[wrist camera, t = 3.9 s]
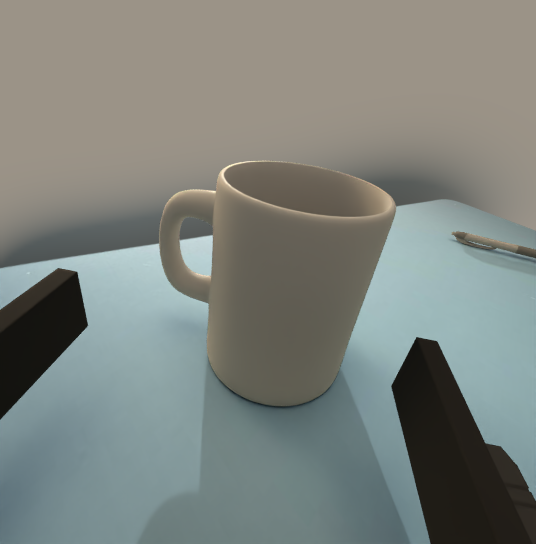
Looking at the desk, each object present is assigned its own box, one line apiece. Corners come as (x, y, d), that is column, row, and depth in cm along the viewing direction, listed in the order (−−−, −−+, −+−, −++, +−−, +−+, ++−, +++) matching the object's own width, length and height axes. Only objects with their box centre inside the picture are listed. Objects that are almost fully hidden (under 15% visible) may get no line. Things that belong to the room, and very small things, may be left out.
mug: (341, 327, 24) (392, 180, 18) (332, 430, 17) (410, 240, 11) (192, 286, 26) (195, 141, 20) (125, 362, 18) (100, 169, 13)
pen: (448, 237, 43) (453, 228, 42) (566, 267, 40) (573, 257, 39) (449, 240, 42) (454, 231, 41) (570, 271, 39) (577, 261, 38)
